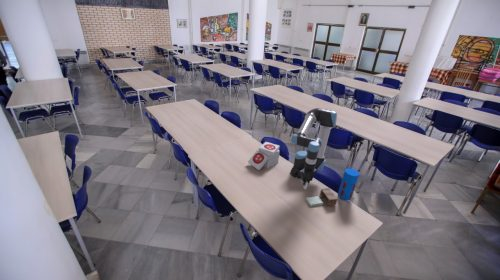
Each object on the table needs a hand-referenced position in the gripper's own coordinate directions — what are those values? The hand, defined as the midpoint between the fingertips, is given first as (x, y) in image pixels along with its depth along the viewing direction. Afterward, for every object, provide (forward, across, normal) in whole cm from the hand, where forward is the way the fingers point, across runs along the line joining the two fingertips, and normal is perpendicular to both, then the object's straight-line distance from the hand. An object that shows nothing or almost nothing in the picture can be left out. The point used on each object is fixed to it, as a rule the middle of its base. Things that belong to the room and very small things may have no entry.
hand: (304, 188), depth 181 cm
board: (+16, +11, 0) cm, 20 cm away
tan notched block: (+16, +23, 0) cm, 28 cm away
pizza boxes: (+16, -14, +59) cm, 63 cm away
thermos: (+16, +40, +2) cm, 43 cm away
